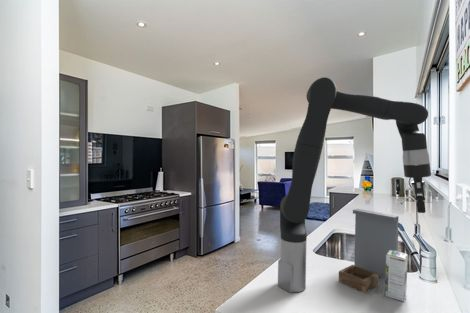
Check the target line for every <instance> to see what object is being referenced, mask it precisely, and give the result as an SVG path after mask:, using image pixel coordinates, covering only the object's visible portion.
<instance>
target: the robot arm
mask: <svg viewBox="0 0 470 313" xmlns="http://www.w3.org/2000/svg"><path fill="white" fill-rule="evenodd" d="M305 96H306V101H307V104H308V107H307V111H306V116H305V118H304V120H303V123H302V126H301V128H300V131H299V133H298V136H297V139H296V144H295V147H294V151H293V155H292V171H291V182H290V186H289V189H288V192H287V194H286V195H285V196H283V197H282V198H281V201H280V206H279V207H280V208H279V229H280V245H279V246H280V248H279V249H280V251H279V253H280V254H279V257H280V258H279V259H278V262H277V263H278V264H277V286H278V287H279V288H281V289H283V290H284V291H286V292H288V293H290V294H292V293H299V292H303V291H305V290H306V286H307V284H306V282H307V281H306V280H307V279H306V278H307V241H308V240H307V237H308V236H307V228H306V219H307V217H308V215H309V212H310V206H311V196H312V190H313V185H314V180H315V178H316V176H317V175H316V174H317V171H318V167H319V163H320V160H321V155H322V153H323V152H322V151H323V147H324V142H325V137H326V132H327V131H326V130H327V123H328V120H329V115H330V112H331V109H332V110H339V111H343V112H344V111H346V112H349V113H354V114H359V115H363V116H366V117H370V118H375V119H379V120H383V121H384V120H385V121H389V120H393V121H395V124H396V128H397V131H398V134H399V136H400V138H401V147H402V164H403V165H402V166H403V174H404V177H405V178H409V179H411V178H412V179H413V180H412V181H411V188H412V194H413V196H414V200H415V203H416V210H417V211H416V212H417V213H419V214H425V213H426V203H425V202H426V198H425V196H426V195H427V193H426V191H427V190H426V188H427V186H426V185H427V184H426V181H423V178H429V177H431V175H432V173H431V171H432V170H431V162H430V155H429V152H428V144H427V136H426V133H424V132H421V131H420V128H419V126H418V125H421V124H423V123H424V122H426V121H427V120H428V117H429V111H428V109H427V108H426V107H425V106H424V105H422V104H420V103H417V102H411V101H410V102H409V101H402V100H401V101H399V100H392V99H388V98H384V97H379V96H375V95H367V94H353V93H352V94H351V93H346V92H345V93H344V92H341V91H338V90H337V86H336V83H335V82H334V80H332V79H331V78H329V77H320V78H317V79H316V80H314V81H313V83H311V84H310V86H309V88H308V89H307V92H306V95H305Z"/></svg>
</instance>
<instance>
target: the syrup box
mask: <svg viewBox="0 0 470 313" xmlns="http://www.w3.org/2000/svg"><path fill="white" fill-rule="evenodd" d="M408 256H409V255H408V254H407V253H405V252H401V251H399V250H398V251H392V250H389V252H388V253H387V255H386V271H385V279H384V296H385V297H387V298H391V299H393V300H397V301H401V302H405V299H406V297H407V288H408V287H407V284H408V283H407V280H408V260H409V259H408Z"/></svg>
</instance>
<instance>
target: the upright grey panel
mask: <svg viewBox="0 0 470 313" xmlns="http://www.w3.org/2000/svg"><path fill="white" fill-rule="evenodd" d="M352 214H355V217H354V218H355V219H354V220H355V224H354V225H355V226H354V227H355V228H354V230H355V231H354V264H353V265H355V266H358V267H360V268H363V269H366V270H369V271H371V272H374V273H377V274H379V278H382V279H384V280H385V271H386V255H387V253H388V252H389V250H392V251H398V252H399V248H398V247H399V216H398V215H394V214H388V213H383V212H377V211H373V210H372V211H371V210H365V209H359V208H356V209H352Z"/></svg>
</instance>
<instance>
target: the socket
mask: <svg viewBox="0 0 470 313" xmlns="http://www.w3.org/2000/svg"><path fill="white" fill-rule="evenodd" d="M379 278H380V277H379V274H377V273H374V272H371V271H369V270H366V269H363V268H360V267H358V266H355V265H354V264H351V265H349V266H346V267H345V268H342V269H340V270H338V282H339V283H341V284H343V285H345V286H348V287H350V288H352V289H355V290H357V291H360V292H362V293H364V294H367V292H369V291H371V290H372V289H374V288H375V287H378V286H379Z"/></svg>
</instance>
